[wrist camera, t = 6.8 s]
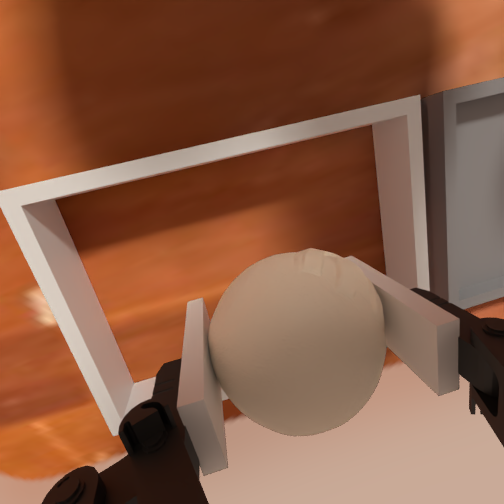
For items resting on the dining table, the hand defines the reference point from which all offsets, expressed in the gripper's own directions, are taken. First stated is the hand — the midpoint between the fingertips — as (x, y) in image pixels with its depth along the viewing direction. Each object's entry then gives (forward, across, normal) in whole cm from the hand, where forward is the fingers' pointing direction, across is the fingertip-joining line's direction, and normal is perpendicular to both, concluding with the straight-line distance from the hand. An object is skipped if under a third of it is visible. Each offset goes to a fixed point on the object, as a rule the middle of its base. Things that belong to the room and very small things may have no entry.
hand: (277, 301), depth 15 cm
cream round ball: (+1, 0, 0) cm, 1 cm away
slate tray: (+9, +25, -1) cm, 26 cm away
